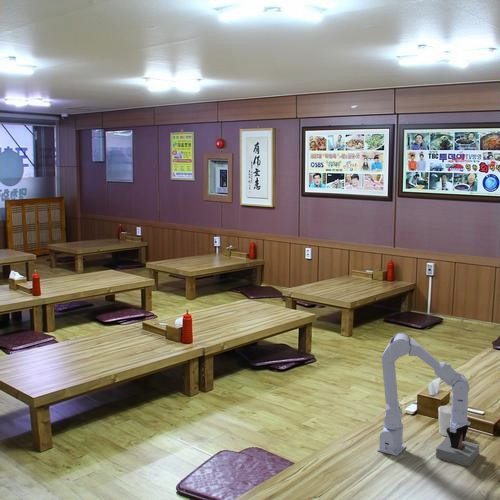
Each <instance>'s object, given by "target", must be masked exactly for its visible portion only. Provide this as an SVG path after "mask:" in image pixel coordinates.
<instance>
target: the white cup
mask: <svg viewBox="0 0 500 500" xmlns="http://www.w3.org/2000/svg"><path fill="white" fill-rule="evenodd" d="M437 410H438V432H439V434H440V435H441V436H444V437H449V435H448V434H447V432H446V429H447V428H450V426H451V425H450V419H451V405H440V406H438V409H437Z"/></svg>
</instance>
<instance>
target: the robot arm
mask: <svg viewBox="0 0 500 500" xmlns="http://www.w3.org/2000/svg"><path fill="white" fill-rule="evenodd" d="M406 355H408V356H409V357H417V358H419V359H420V360H421V361H423V362H424V363H425V364H427V365H428V366H429V367H431V368H432V369H433V371H434V372H433V373H434V375H435V376H436V377H438V378H439V379H440V380H441V381H443V382H444V383H445V384H446V385H447V386H449V387H451V389H452V390H451V391H452V394H451V402H450V403H451V404H450V406H451V419H450V425H451V426H450V428H447V429H446V432H447V434H448V435H449V438H450V442H451V447H452V448H454V449H458V447H459V442H460V438H461V435H463V437H462V441H465V439H466V437H467V433H468V429H469V427H470V426H471V424H472V423H471V421H469V420H468V415H469V414H468V412H469V411H468V409H469V392H470V389H471V388H470V385H469V381H468V379H467V377H466V376H465V375H464V374H462V373H461V372H458V371H457V370H455V369H454V368H452V364H451V363H449V362H448V363H447V362H445V361H439V360H438V359H437V358H435V357H434V355H432V354H431V353H430V352H429V351H428V350H427V349H425V348H424V347H423V346H422V345H421V344H420V343H418V342H417V341H416V340H415V339H414V338H413V337H410V336H409V335H408V334H407V333H405V332H398V333H397V334H395V335H394V336H392V337H391V339H390V340H389V342H388V343H387V346H386V348H385V349H384V351H383V353H382V355H381V366H382V374H383V376H382V377H383V387H384V397H385V413H384V419H383V427H382V428H383V429H382V431H381V432H380V434H379V447H378V448H377V449H376V451H378V452H381V453H383V454H388V455H392V456H395V457H397V456H399V455H400V454H401V453H402V452H403V451H404V450H405V449H406V448H407V445H406V444H403V437H404V436H403V435H404V434H403V431H404V424H403V423H402V421H403V420H402V416H403V411H402V408H401V407H400V404H399V403H400V402H399V398H398V397H399V394H398V384H397V372H396V363H395V362H396V361H397V360H398V359H400V358H402V357H404V356H406Z"/></svg>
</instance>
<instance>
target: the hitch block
mask: <svg viewBox="0 0 500 500" xmlns="http://www.w3.org/2000/svg"><path fill="white" fill-rule="evenodd" d="M435 449H436V450H435V458H437V459H440V460H444V461H446V462H447V461H448V462H450V463H454V464H459V465H462V466H465V467H471V465H472V464H473V462H474V461H475V460H476V458H477V457H478V456H479V454H480V444H479V443H478V444H477V443H474V442H470V441H465V440H464V441H462V450H458V449H454V448H452V447H451V442H450V438H449V437H448V436H445V438H444V439H443V440H442V442H440V444H439V445H438V446H437V447H436V448H435Z"/></svg>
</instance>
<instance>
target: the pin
mask: <svg viewBox="0 0 500 500" xmlns="http://www.w3.org/2000/svg"><path fill="white" fill-rule="evenodd" d="M462 437H463V435H461V438H460V442H459V447H458V450H462Z"/></svg>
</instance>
